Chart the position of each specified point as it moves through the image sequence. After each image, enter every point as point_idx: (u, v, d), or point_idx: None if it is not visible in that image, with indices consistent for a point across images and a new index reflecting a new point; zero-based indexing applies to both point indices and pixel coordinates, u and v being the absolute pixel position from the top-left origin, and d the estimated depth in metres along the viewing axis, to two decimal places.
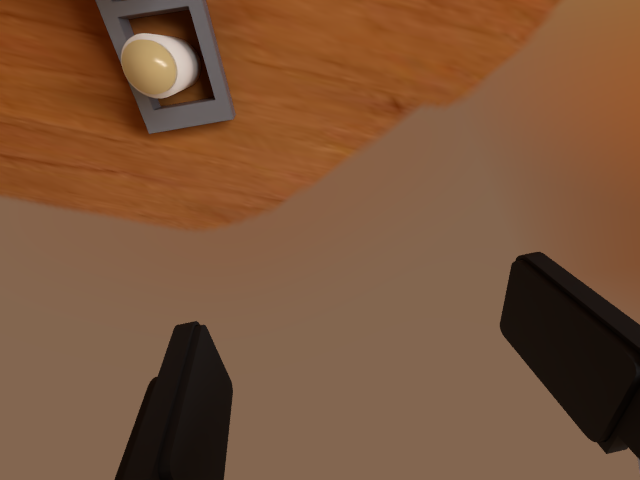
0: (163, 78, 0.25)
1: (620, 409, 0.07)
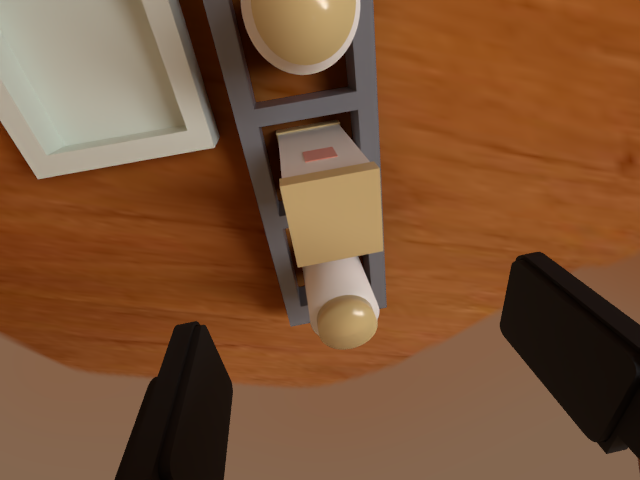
0: (362, 335, 0.20)
1: (620, 409, 0.07)
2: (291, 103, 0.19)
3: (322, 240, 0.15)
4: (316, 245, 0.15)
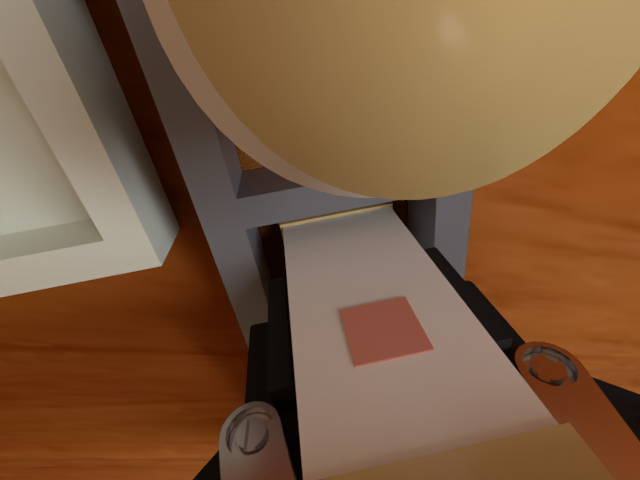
0: None
1: None
2: None
3: None
4: None
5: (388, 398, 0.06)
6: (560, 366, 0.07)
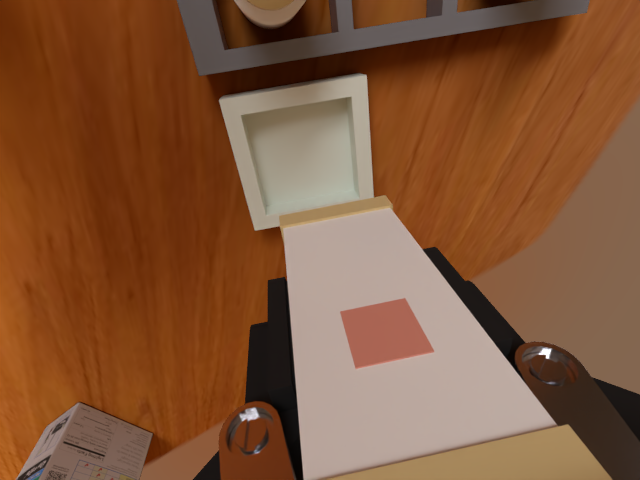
0: None
1: None
2: None
3: None
4: None
5: (388, 400, 0.06)
6: (560, 365, 0.07)
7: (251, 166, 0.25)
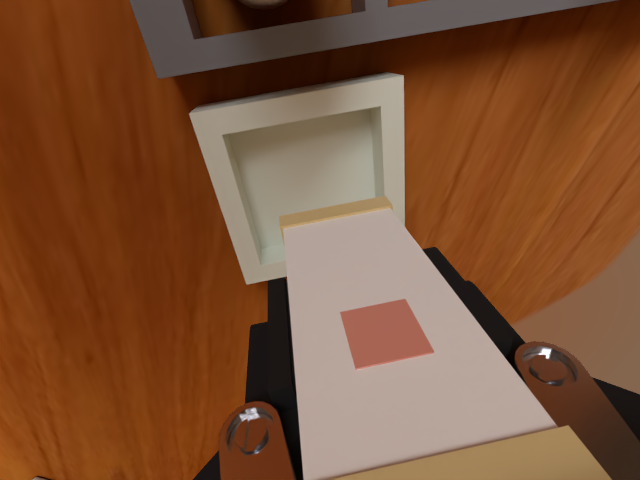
0: None
1: None
2: None
3: None
4: None
5: (388, 401, 0.06)
6: (560, 365, 0.07)
7: (239, 203, 0.18)
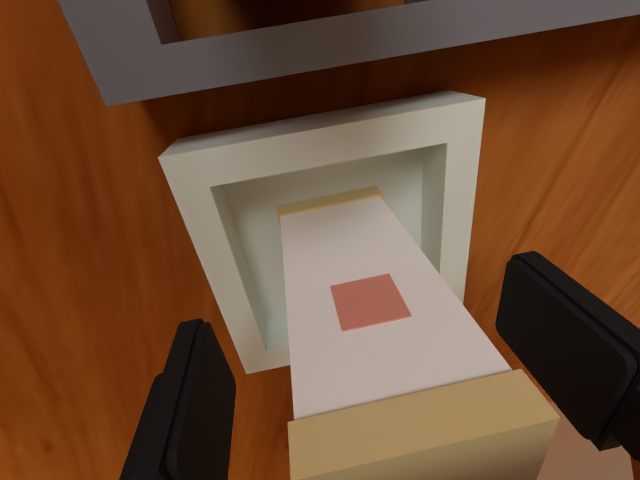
0: None
1: (612, 406, 0.07)
2: None
3: None
4: None
5: (369, 355, 0.07)
6: None
7: (236, 277, 0.13)
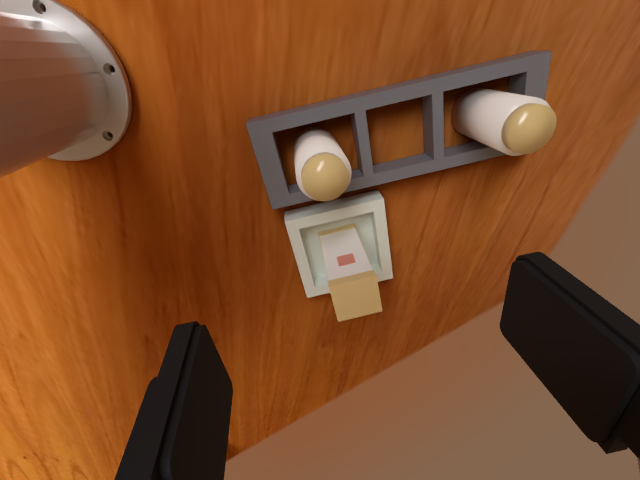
0: (544, 117, 0.24)
1: (620, 409, 0.07)
2: (360, 154, 0.31)
3: (350, 308, 0.30)
4: (347, 310, 0.30)
5: (344, 270, 0.30)
6: None
7: (305, 258, 0.36)
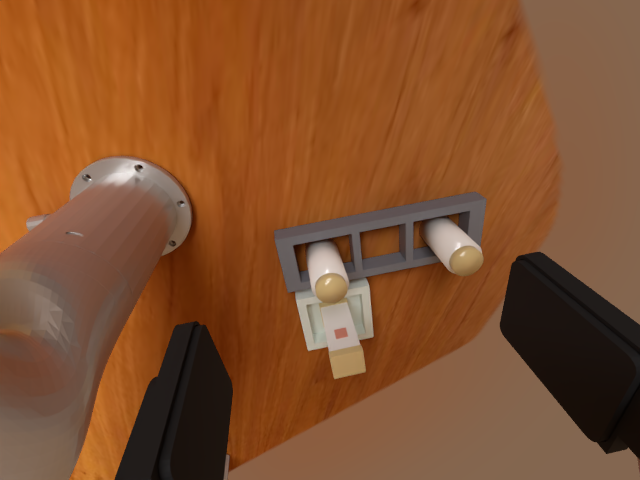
0: (475, 256, 0.37)
1: (620, 409, 0.07)
2: (354, 258, 0.43)
3: (343, 370, 0.42)
4: (341, 372, 0.42)
5: (340, 343, 0.42)
6: None
7: (309, 324, 0.48)
